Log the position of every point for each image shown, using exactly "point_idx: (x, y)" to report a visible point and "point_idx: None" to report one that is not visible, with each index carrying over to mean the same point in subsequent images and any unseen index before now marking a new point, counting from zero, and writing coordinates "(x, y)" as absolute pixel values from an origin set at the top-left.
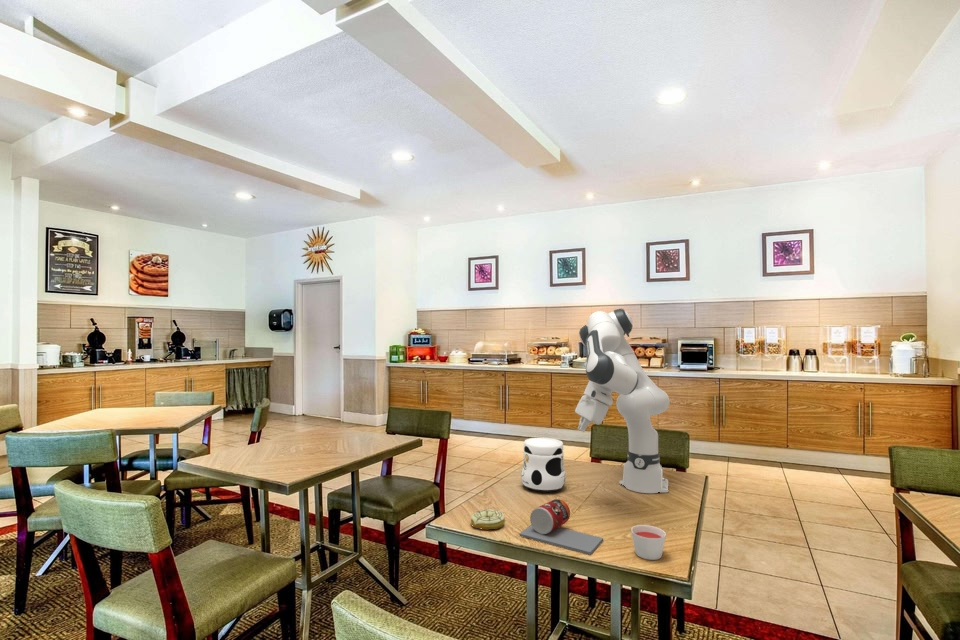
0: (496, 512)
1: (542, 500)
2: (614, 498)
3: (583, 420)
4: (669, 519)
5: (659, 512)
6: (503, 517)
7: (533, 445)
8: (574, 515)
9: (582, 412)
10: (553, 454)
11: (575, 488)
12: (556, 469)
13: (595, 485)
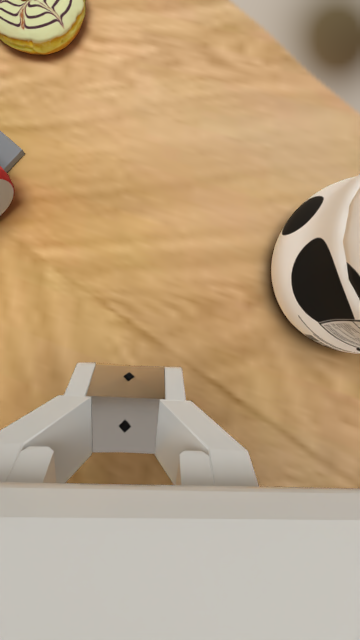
0: (31, 8)
1: (216, 234)
2: None
3: (47, 453)
4: None
5: None
6: (4, 29)
7: None
8: (77, 294)
9: (170, 564)
10: (349, 268)
11: (316, 382)
12: (312, 294)
13: (338, 463)
